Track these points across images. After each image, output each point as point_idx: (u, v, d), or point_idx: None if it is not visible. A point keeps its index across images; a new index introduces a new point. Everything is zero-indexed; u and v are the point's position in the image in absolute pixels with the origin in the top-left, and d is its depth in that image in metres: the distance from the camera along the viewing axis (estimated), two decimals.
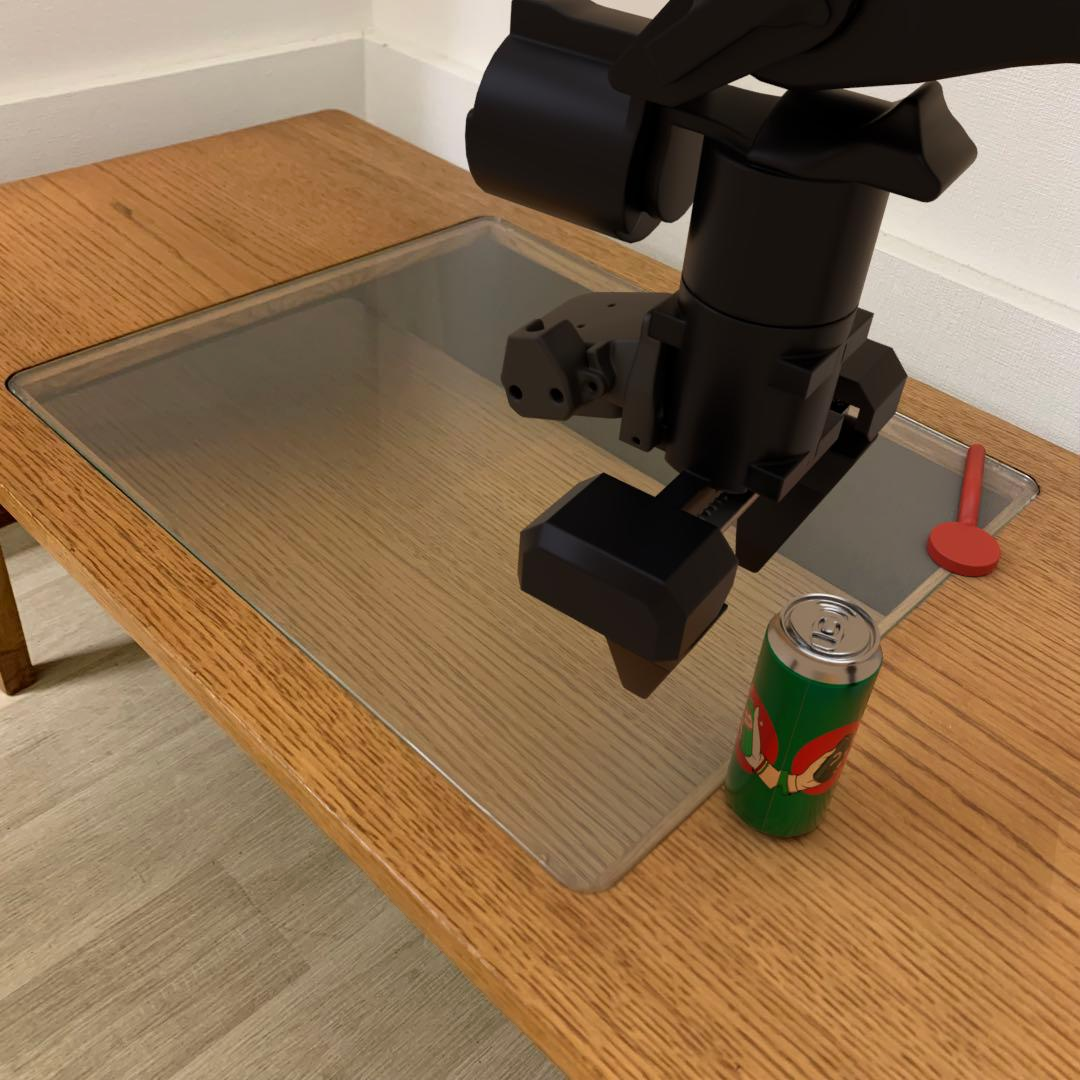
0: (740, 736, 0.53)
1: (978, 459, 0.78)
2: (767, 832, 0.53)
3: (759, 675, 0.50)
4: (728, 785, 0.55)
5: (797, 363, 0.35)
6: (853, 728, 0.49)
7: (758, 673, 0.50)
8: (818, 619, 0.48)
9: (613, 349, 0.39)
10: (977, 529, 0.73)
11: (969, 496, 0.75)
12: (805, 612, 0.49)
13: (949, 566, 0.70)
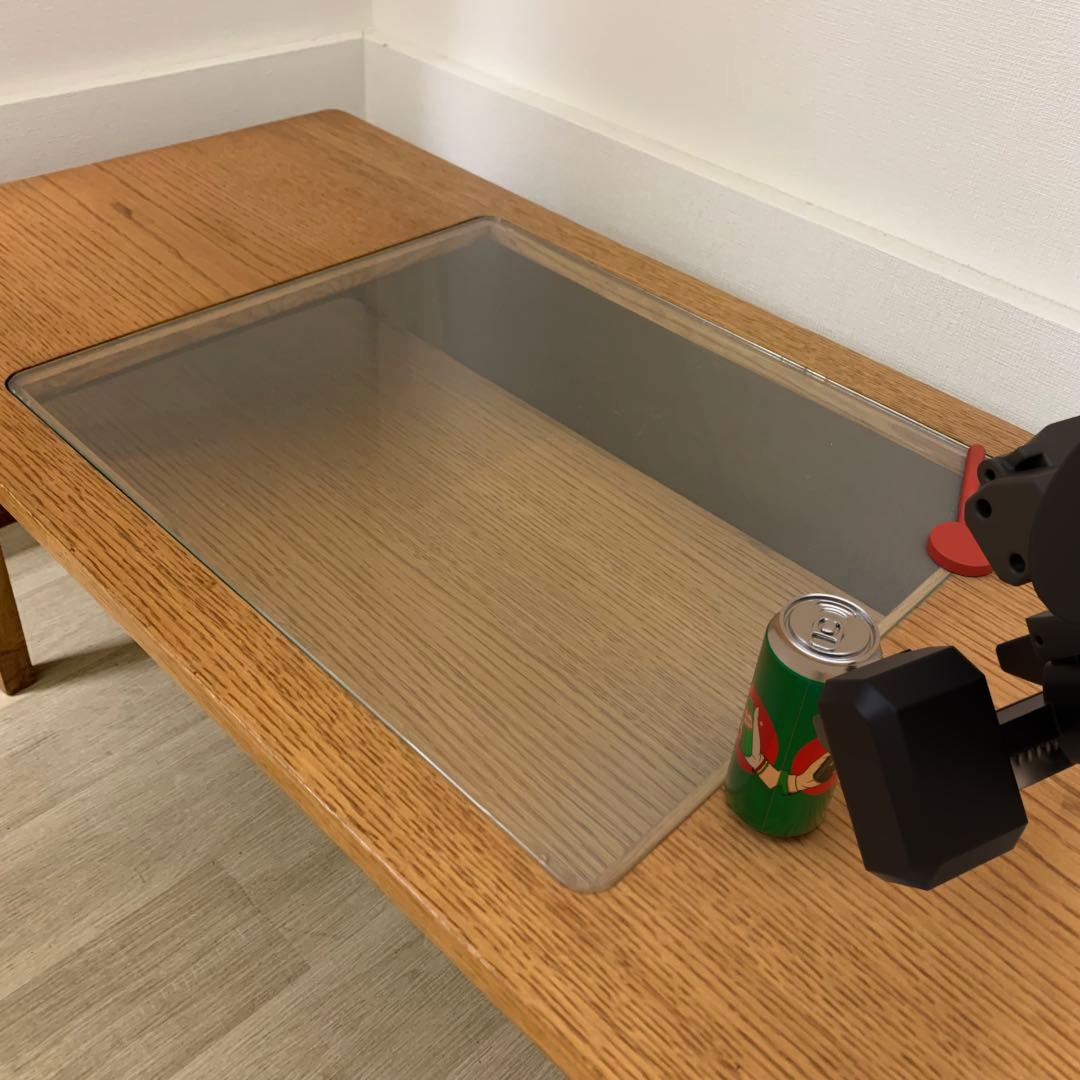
0: (740, 736, 0.53)
1: (978, 459, 0.78)
2: (767, 832, 0.53)
3: (759, 675, 0.50)
4: (728, 785, 0.55)
5: None
6: None
7: (758, 673, 0.50)
8: (818, 619, 0.48)
9: None
10: None
11: (969, 496, 0.75)
12: (805, 612, 0.49)
13: (949, 566, 0.70)
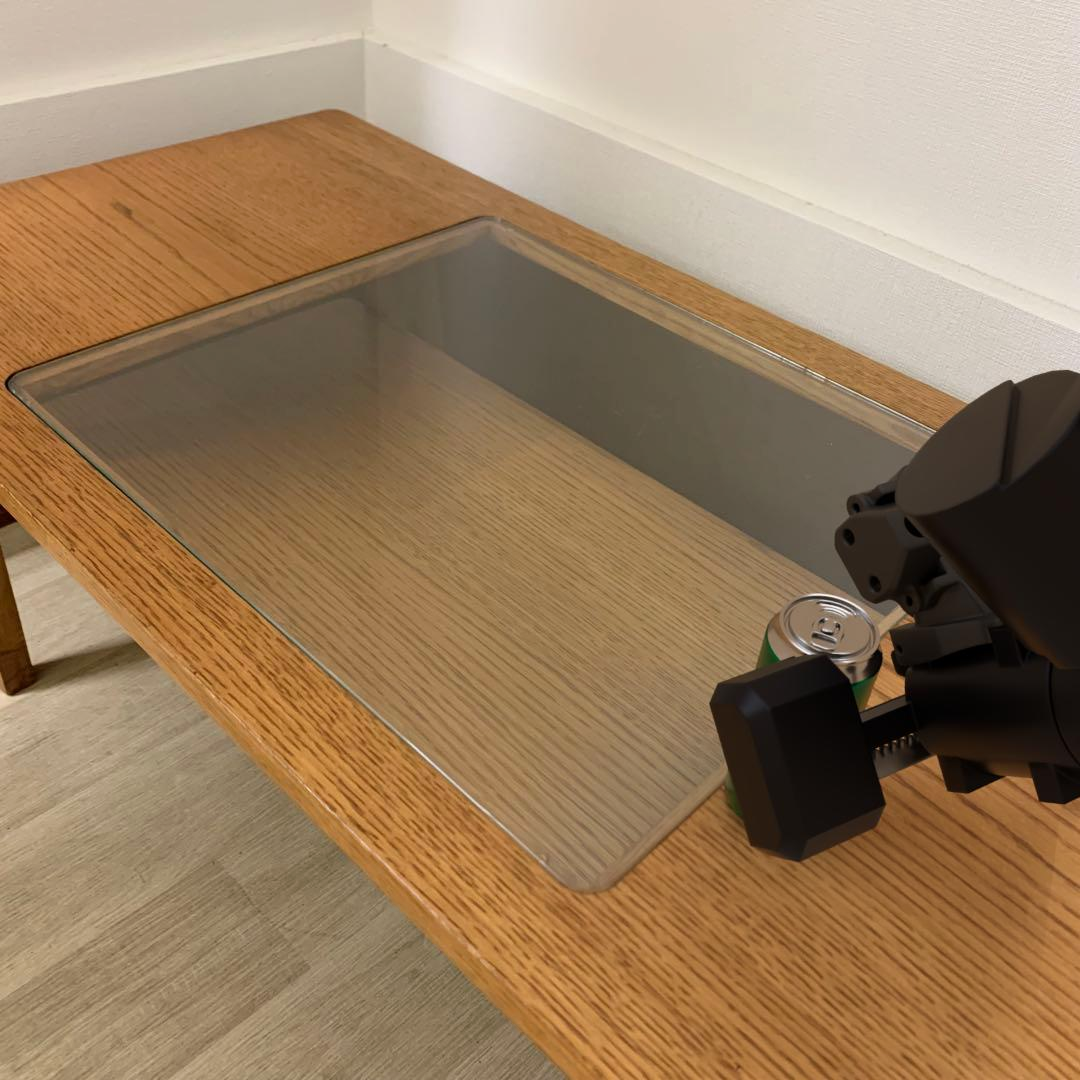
0: None
1: None
2: None
3: None
4: (728, 785, 0.55)
5: (1063, 783, 0.35)
6: None
7: None
8: (818, 619, 0.48)
9: (954, 590, 0.37)
10: None
11: None
12: (805, 612, 0.49)
13: None
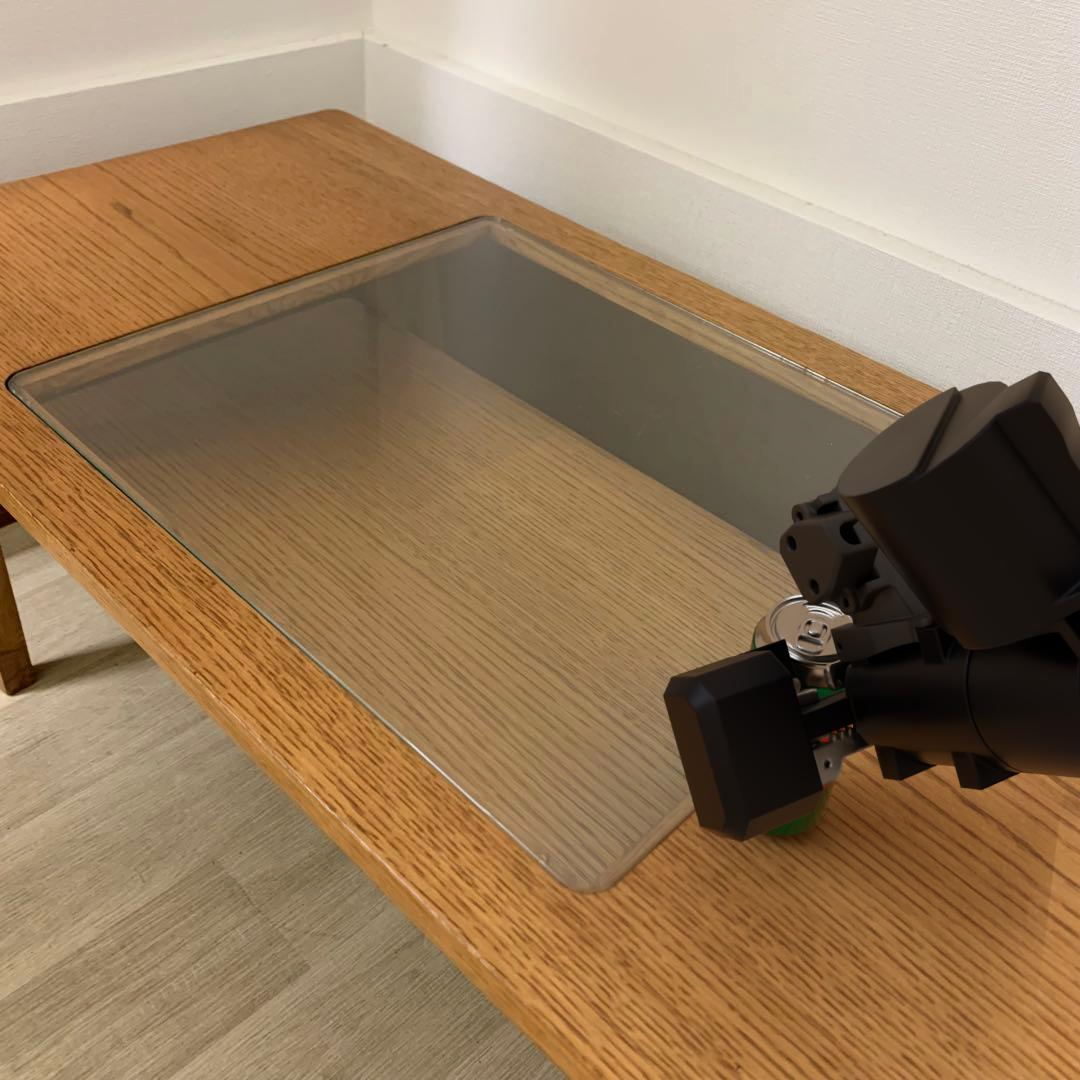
0: None
1: None
2: (766, 832, 0.53)
3: None
4: None
5: (981, 771, 0.38)
6: None
7: None
8: (805, 621, 0.48)
9: (886, 592, 0.40)
10: None
11: None
12: (791, 614, 0.48)
13: None
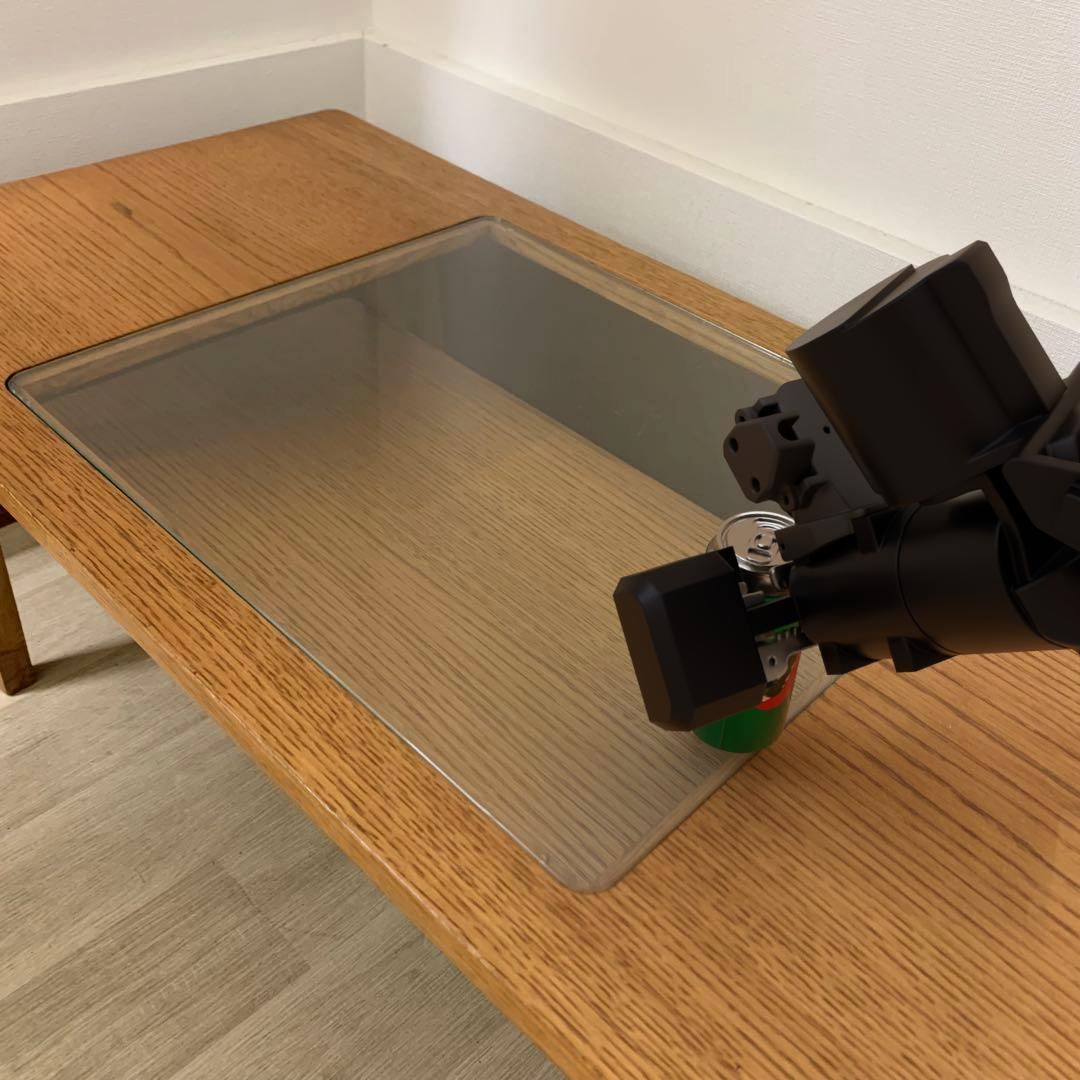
0: None
1: None
2: (724, 750, 0.55)
3: None
4: None
5: (914, 654, 0.40)
6: None
7: None
8: (755, 535, 0.50)
9: (824, 489, 0.42)
10: None
11: None
12: (742, 529, 0.50)
13: None
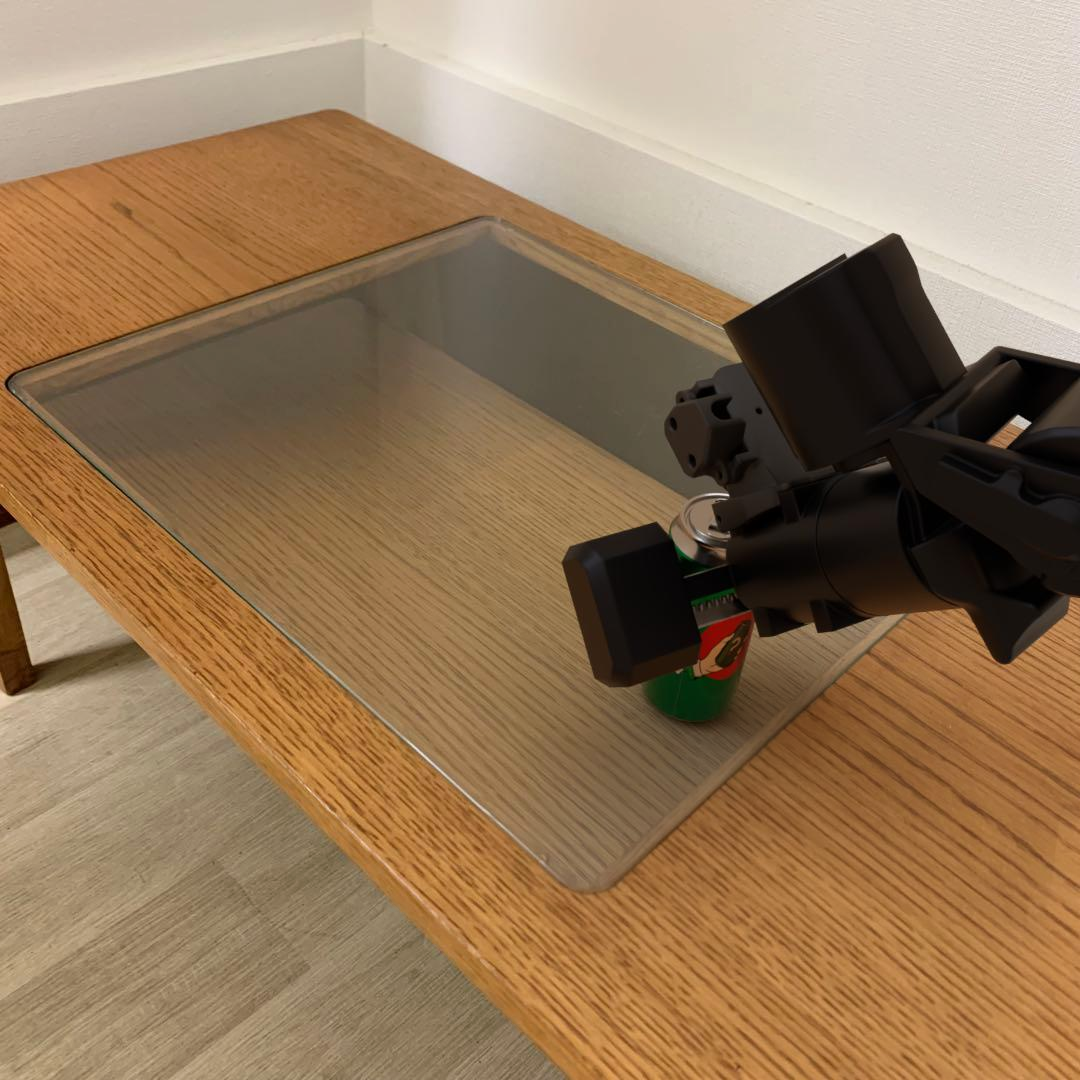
0: None
1: None
2: (678, 717, 0.59)
3: None
4: None
5: (833, 615, 0.43)
6: (749, 615, 0.55)
7: None
8: None
9: (755, 465, 0.45)
10: None
11: None
12: (704, 508, 0.54)
13: None
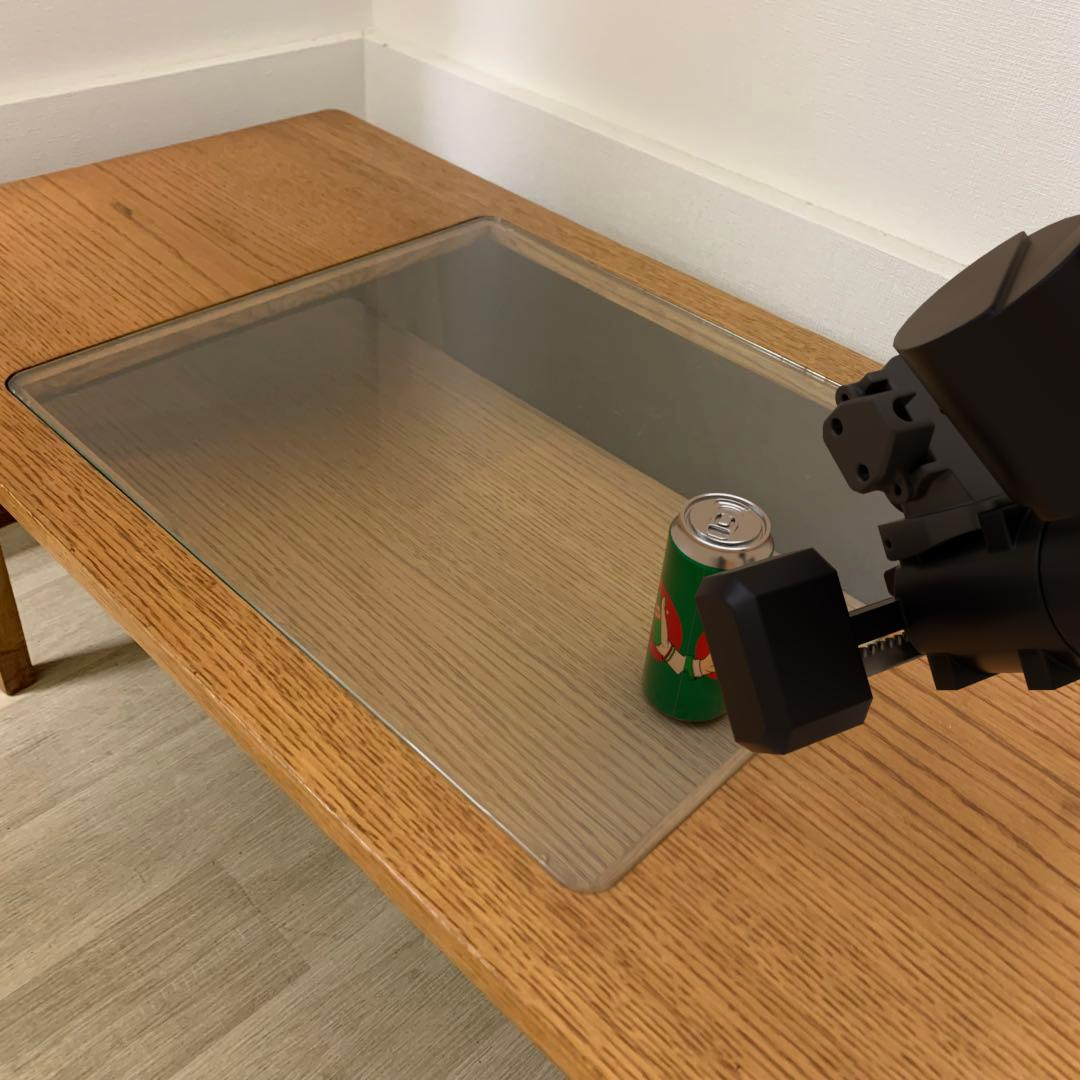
0: (652, 628, 0.58)
1: None
2: (678, 717, 0.59)
3: (664, 567, 0.55)
4: (644, 676, 0.60)
5: (1053, 669, 0.34)
6: None
7: (664, 566, 0.55)
8: (715, 514, 0.54)
9: (943, 478, 0.36)
10: None
11: None
12: (704, 508, 0.54)
13: None
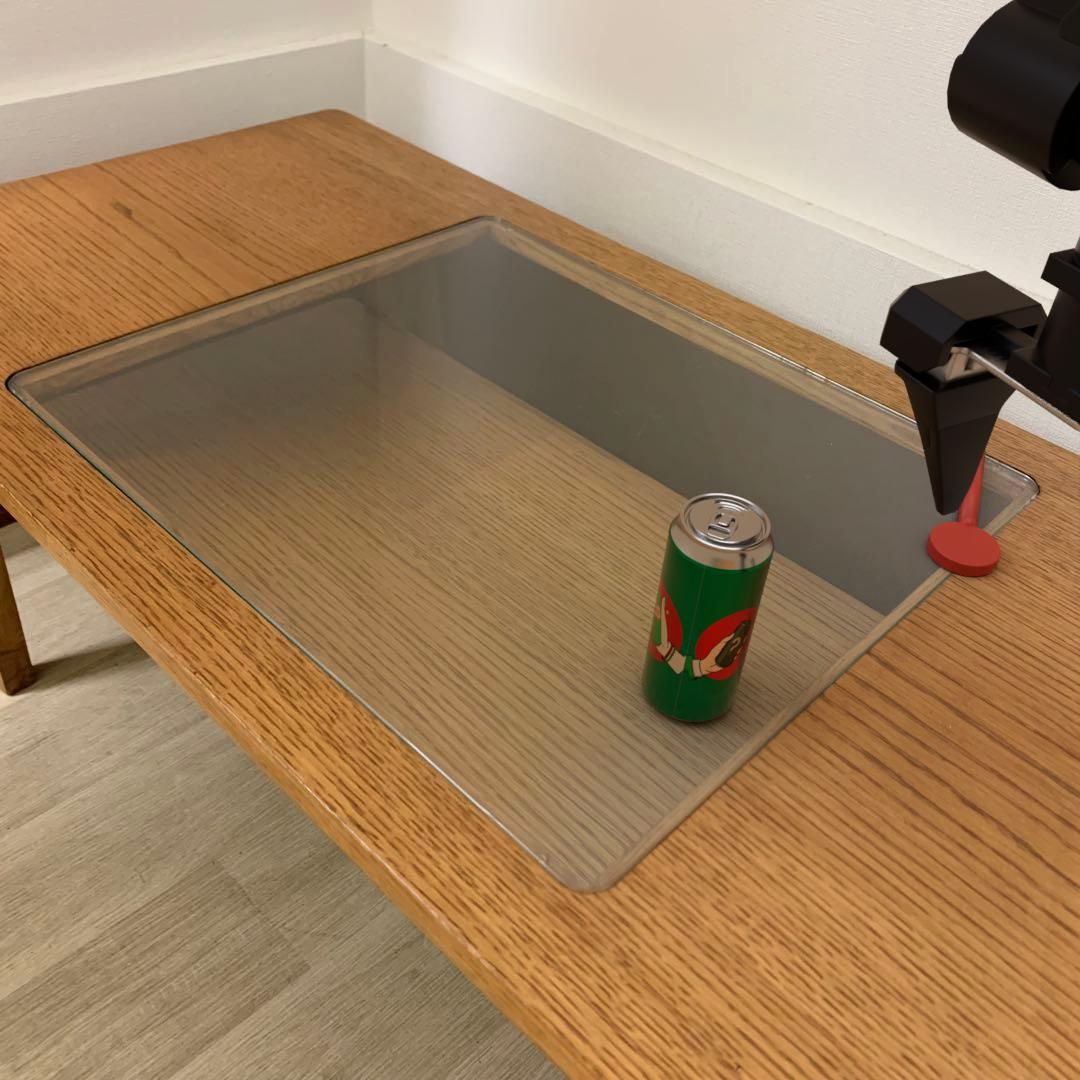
0: (652, 628, 0.58)
1: None
2: (678, 717, 0.59)
3: (664, 567, 0.55)
4: (644, 676, 0.60)
5: (1065, 253, 0.42)
6: (749, 615, 0.55)
7: (664, 566, 0.55)
8: (715, 514, 0.54)
9: None
10: (977, 529, 0.73)
11: (969, 496, 0.75)
12: (704, 508, 0.54)
13: (949, 566, 0.70)
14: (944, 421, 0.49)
